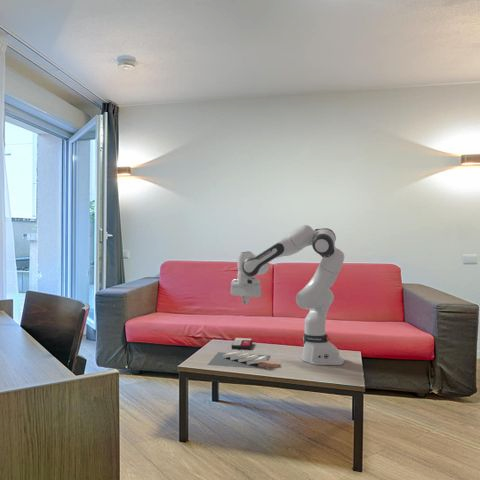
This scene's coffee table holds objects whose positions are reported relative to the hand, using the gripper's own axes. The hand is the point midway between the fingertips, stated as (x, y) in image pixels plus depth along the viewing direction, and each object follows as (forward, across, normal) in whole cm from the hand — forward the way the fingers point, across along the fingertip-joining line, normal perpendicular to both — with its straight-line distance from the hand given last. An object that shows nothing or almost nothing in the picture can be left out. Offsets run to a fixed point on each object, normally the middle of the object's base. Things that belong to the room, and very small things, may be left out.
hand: (245, 304), depth 217 cm
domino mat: (+28, +6, -12) cm, 32 cm away
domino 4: (+27, +14, -14) cm, 33 cm away
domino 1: (+27, -3, -14) cm, 30 cm away
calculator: (+28, -11, +10) cm, 32 cm away
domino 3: (+27, +8, -14) cm, 31 cm away
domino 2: (+27, +2, -14) cm, 30 cm away
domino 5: (+27, +19, -13) cm, 36 cm away
